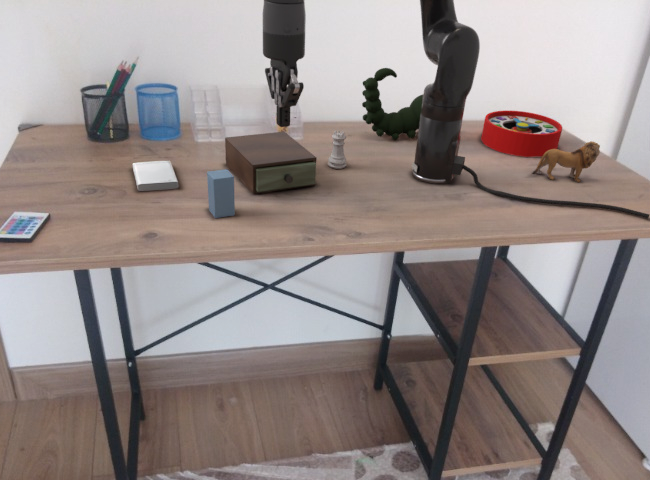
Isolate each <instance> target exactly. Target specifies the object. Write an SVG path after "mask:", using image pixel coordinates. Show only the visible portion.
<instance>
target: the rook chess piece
mask: <svg viewBox="0 0 650 480" xmlns="http://www.w3.org/2000/svg"><path fill="white" fill-rule="evenodd" d="M345 134H346V133H345V132H344V131H341V130H334V131H333V134H332V135H331V138H332V140H333V141H332V151H331V154H330V156H329V157H328V159H327V161H328V162H327V165H328V167H329V168H331V169H334V170H342V169H345V168H346V167H347V158H346V156H345V153H344V152H345V151H344V146H345V139H347V136H346V135H345Z"/></svg>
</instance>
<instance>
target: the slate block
mask: <svg viewBox="0 0 650 480" xmlns="http://www.w3.org/2000/svg"><path fill="white" fill-rule="evenodd" d="M206 178H207V179H206V181H207V198H208V201H207V202H208V211H209V212H210V214H211V215H212V216H213V218H214V219H219V218H225V217H233V216H235V215H236V204H235V176H234V175H233V173H231V172H230V171H229V170H228V169H227V168H225V169H217V170H209V171H206Z"/></svg>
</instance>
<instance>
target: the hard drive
mask: <svg viewBox="0 0 650 480" xmlns="http://www.w3.org/2000/svg"><path fill="white" fill-rule="evenodd" d="M132 170H133V174H134V175H133V176H134V179H135V184H136V187H137V191H138V192H147V191H149V192H150V191H162V190H163V191H164V190H176V189H179V181H178V178H177V175H176V173H175V170H174V167H173V165H172V162H171V161H170V160H155V161H154V160H153V161H140V162H138V161H137V162H133V163H132Z"/></svg>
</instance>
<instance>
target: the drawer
mask: <svg viewBox="0 0 650 480" xmlns="http://www.w3.org/2000/svg"><path fill="white" fill-rule="evenodd" d="M316 175H317V162H316V163H315V162H309V161H307V162H299V163H291V164H283V165H275V166H267V167H259V168H256V191H257V192H262V191H270V190H277V189H284V188H291V187H298V186H305V185H312V184H315V185H316Z"/></svg>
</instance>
